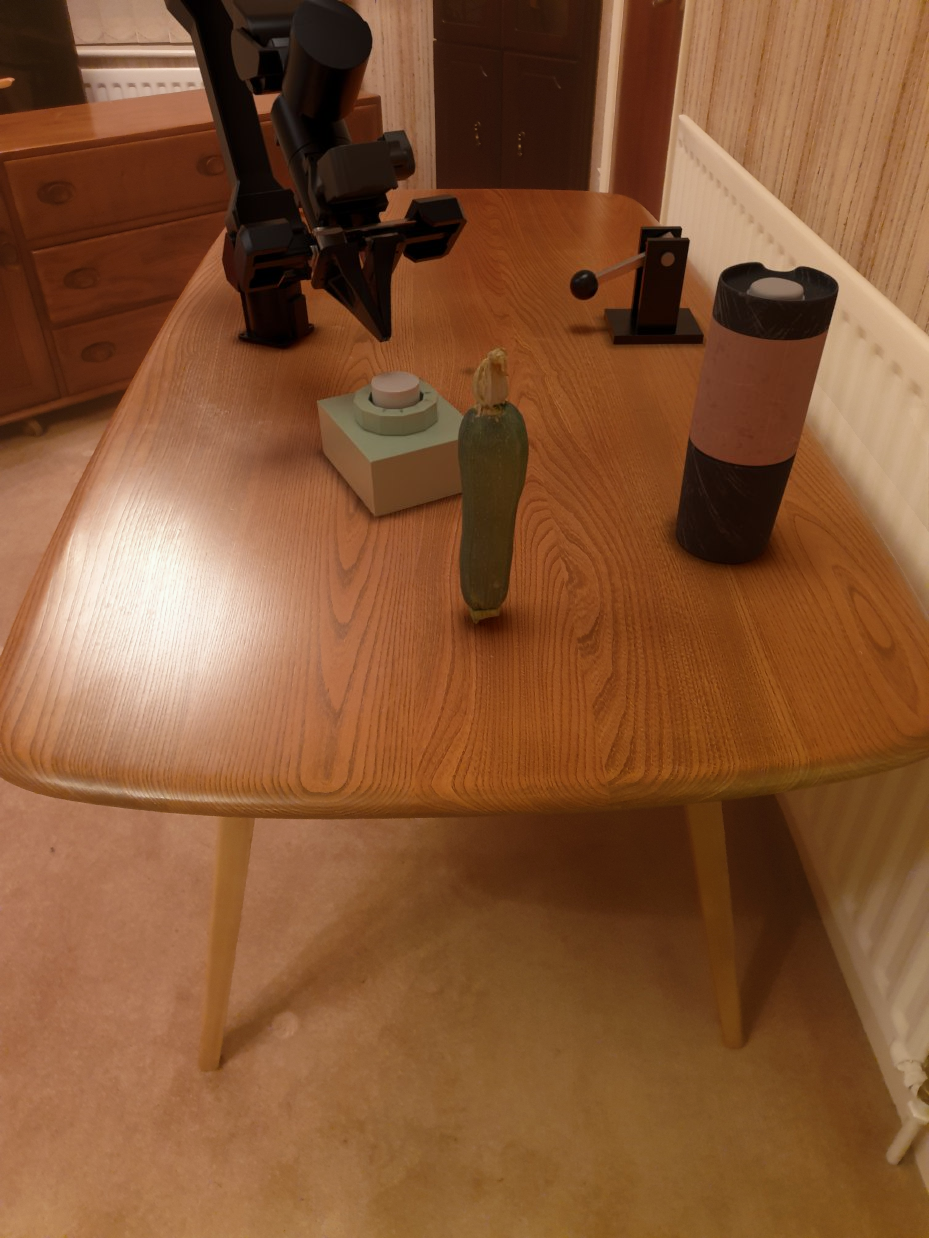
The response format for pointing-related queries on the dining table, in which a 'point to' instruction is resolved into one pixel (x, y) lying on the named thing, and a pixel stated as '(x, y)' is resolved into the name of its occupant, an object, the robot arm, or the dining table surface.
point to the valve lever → (604, 275)
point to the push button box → (393, 448)
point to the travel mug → (751, 406)
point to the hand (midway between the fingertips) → (385, 339)
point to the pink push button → (395, 390)
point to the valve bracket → (657, 295)
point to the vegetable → (490, 487)
